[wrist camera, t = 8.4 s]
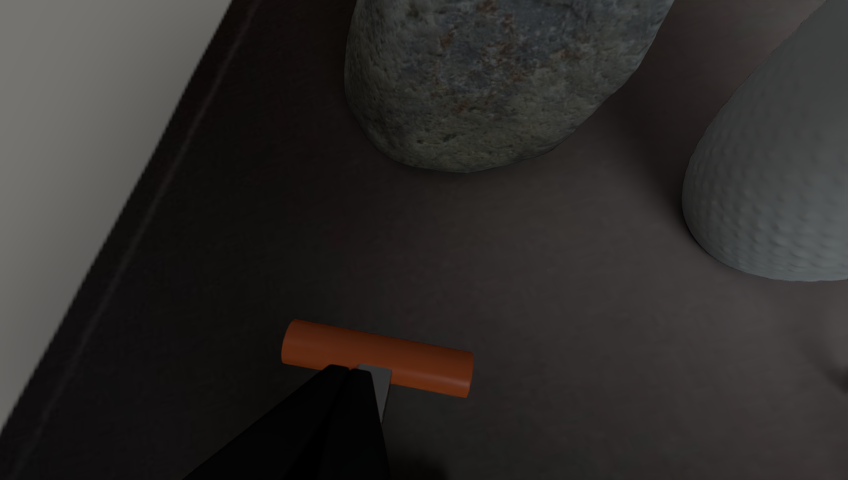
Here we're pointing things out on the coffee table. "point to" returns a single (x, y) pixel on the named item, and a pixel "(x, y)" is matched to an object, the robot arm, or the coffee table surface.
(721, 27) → the coffee table surface
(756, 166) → the mug
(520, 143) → the stone
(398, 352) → the lever
